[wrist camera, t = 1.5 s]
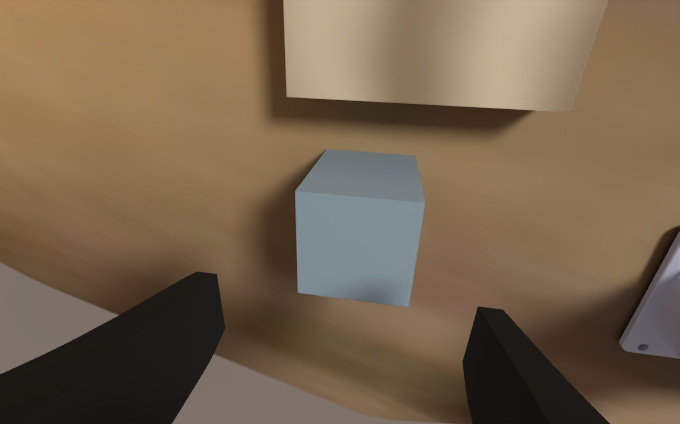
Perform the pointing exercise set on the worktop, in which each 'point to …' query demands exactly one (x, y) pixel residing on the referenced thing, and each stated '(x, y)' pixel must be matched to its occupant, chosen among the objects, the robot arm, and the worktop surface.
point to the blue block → (359, 226)
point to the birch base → (441, 51)
